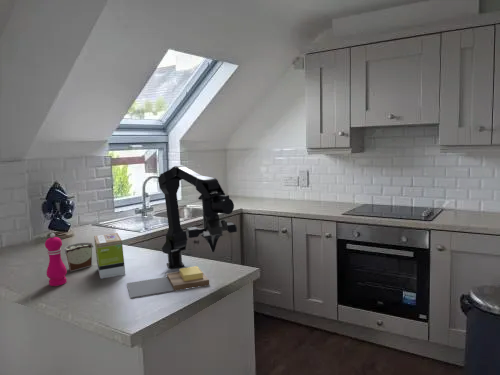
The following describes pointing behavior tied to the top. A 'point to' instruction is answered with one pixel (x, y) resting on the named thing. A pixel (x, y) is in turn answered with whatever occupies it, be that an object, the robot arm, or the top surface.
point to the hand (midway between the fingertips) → (212, 251)
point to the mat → (149, 287)
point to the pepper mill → (55, 261)
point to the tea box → (109, 255)
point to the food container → (79, 255)
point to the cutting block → (179, 283)
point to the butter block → (191, 273)
